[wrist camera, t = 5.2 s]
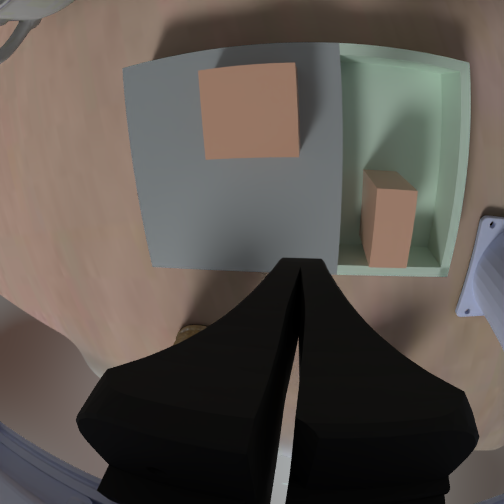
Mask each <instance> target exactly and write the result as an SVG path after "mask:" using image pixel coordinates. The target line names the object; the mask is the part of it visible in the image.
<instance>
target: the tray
mask: <svg viewBox="0 0 504 504" xmlns="http://www.w3.org/2000/svg"><path fill="white" fill-rule="evenodd" d="M339 49H340V64H341V84H342V116H343V168H342V202H341V223H340V240H339V254H338V267H337V275H372V276H429V277H447V275H448V271H449V268H450V264H451V259H452V255H453V251H454V246H455V242H456V237H457V232H458V227H459V222H460V216H461V210H462V204H463V198H464V191H465V183H466V175H467V166H468V155H469V141H470V117H471V89H470V65H469V63H468V62H465V61H461V60H457V59H453V58H448V57H444V56H439V55H434V54H429V53H424V52H418V51H412V50H406V49H399V48H392V47H383V46H374V45H363V44H349V43H339ZM363 169H366V170H383V171H396V172H398V173H399V174H400V175H401V176H402V177H403V178H404V179H405V180H407V181H408V182H409V183H410V184H411V185H412V186H413V187H414V188H415V189H416V190H417V191H418V195H417V204H416V212H415V219H414V226H413V233H412V239H411V245H410V251H409V256H408V262H407V267H406V268H376V267H369V265H368V262H367V259H366V255H365V252H364V248H363V245H362V242H361V239H360V236H359V230H360V217H361V203H362V186H363Z"/></svg>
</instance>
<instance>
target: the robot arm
mask: <svg viewBox="0 0 504 504" xmlns="http://www.w3.org/2000/svg"><path fill="white" fill-rule="evenodd" d="M492 221H493V224H492V225H491V226H490V223H491V222H492ZM467 309H468V310H467ZM466 310H467V311H466ZM455 312H456V314H457V316H459V317H464V316H483V315H485V317H486V319H487V321H488V322H489V324H490V326H491V328H492V329H493V331H494V333H495V335H496V337H497V339H498V340H499V342H500V344H501V346H502V348H503V350H504V217H497V216H487V215H486V216H483V217H482V218H481V219H480V222H479V227H478V231H477V236H476V240H475V245H474V249H473V253H472V257H471V261H470V264H469V268H468V272H467V275H466V278H465V282H464V285H463V288H462V292H461V295H460V298H459V301H458V304H457V307H456V310H455ZM298 337H299V392H298V400H297V409H296V417H295V428H294V439H293V449H292V459H291V469H290V476H289V483H288V490H287V496H286V503H285V504H445V497H444V494H447V493H448V492H449V490H450V484H449V475H450V474H451V473H452V472H453V471H454V470H455V469H456V468H457V467H458V466H459V465H460V464H461V463H462V462H463V461H464V460H465V459H466V458H467V457H468V456H469V455H470V454H471V452H472V451H473V450H474V448H475V447H476V445H477V442H478V439H479V434H478V430H477V427H476V423H475V419H474V415H473V412H472V409H471V407H470V404H469V402H468V399H467V397H466V395H465V392H464V391H462V390H460V389H458V388H457V387H455V386H453V385H451V384H449V383H447V382H445V381H444V380H442V379H440V378H438V377H436V376H434V375H433V374H431V373H429V372H428V371H426V370H425V369H423V368H422V367H420V366H419V365H417V364H416V363H414V362H413V361H411V360H410V359H408V358H407V357H406V356H404V355H403V354H401V353H400V352H399V351H398V350H396V349H395V348H394V347H393V346H391V345H390V344H389V343H388V342H387V341H385V340H384V339H383V338H382V337H381V336H380V335H379V334H377V333H376V332H375V331H374V330H373V329H372V328H371V327H370V326H369V325H368V324H367V323H366V322H365V320H364V319H363V318H362V317H361V316H360V315H359V314H358V312H357V311H356V310H355V309H354V308H353V306H352V305H351V304H350V303H349V301H348V300H347V298H346V297H345V296H344V294H343V293H342V291H341V290H340V288H339V287H338V286H337V284H336V282H335V281H334V279H333V277H332V276H331V274H330V272H329V270H328V268H327V266H326V264H325V262H324V261H323V260H322V259H318V258H281V259H280V260H279V261H278V263H277V264H276V265H275V267H274V268H273V269H272V270H271V271H270V273H269V274H268V275H267V276H266V277H265V278H264V280H263V281H262V282H261V283H260V284H259V285H258V286H257V287H256V288H255V289H254V290H253V291H252V292H251V293H250V294H249V295H248V296H247V297H246V298H245V299H244V300H243V301H242V302H240V303H239V304H238V305H237V306H236V307H235V308H234V309H232V310H231V311H230V312H229V313H227V314H226V315H225V316H223V317H222V318H220V319H219V320H218V321H216V322H215V323H213V324H212V325H210V326H208V327H207V328H205V329H203V330H201V331H200V332H198V333H196V334H195V335H193V336H191V337H189V338H188V339H186V340H184V341H182V342H180V343H178V344H175V345H173V346H171V347H169V348H167V349H164V350H162V351H160V352H157V353H155V354H152V355H150V356H147V357H145V358H142V359H139V360H136V361H133V362H129V363H126V364H123V365H120V366H117V367H113V368H110V369H107V370H106V372H105V373H104V374H103V376H102V377H101V379H100V380H99V382H98V383H97V385H96V386H95V388H94V389H93V391H92V393H91V394H90V396H89V397H88V399H87V400H86V402H85V404H84V405H83V407H82V408H81V410H80V412H79V413H78V415H77V418H76V422H77V425H78V428H79V431H80V432H81V434H82V435H83V436H84V438H85V439H86V440H87V442H88V443H90V445H91V446H92V447H93V448H94V449H95V450H96V451H97V452H98V454H99V455H100V456H101V457H102V458H103V459H104V460H105V461H106V462H107V463H108V464H109V466H108V468H107V470H106V472H105V474H104V476H103V479H100V478H98V477H95V476H93V475H91V474H89V473H86V472H85V471H82V470H80V469H78V468H76V467H74V466H72V465H70V464H68V463H66V462H65V461H63V460H60V459H59V458H57V457H55V456H53V455H52V454H50V453H48V452H47V451H45V450H43V449H41V448H40V447H38V446H36V445H35V444H33V443H31V442H30V441H28V440H27V439H25V438H24V437H22V436H21V435H19V434H17V433H16V432H15V431H13V430H12V429H10V428H9V427H7V426H6V425H5V424H3V423H2V422H0V504H270V501H271V494H272V487H273V482H274V474H275V468H276V461H277V455H278V448H279V440H280V433H281V426H282V418H283V411H284V403H285V398H286V393H287V388H288V384H289V379H290V375H291V370H292V366H293V361H294V356H295V352H296V347H297V342H298ZM475 504H504V493H503V494H501V495H498V496H496V497H493V498H490V499H487V500H484V501H481V502H478V503H475Z"/></svg>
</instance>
